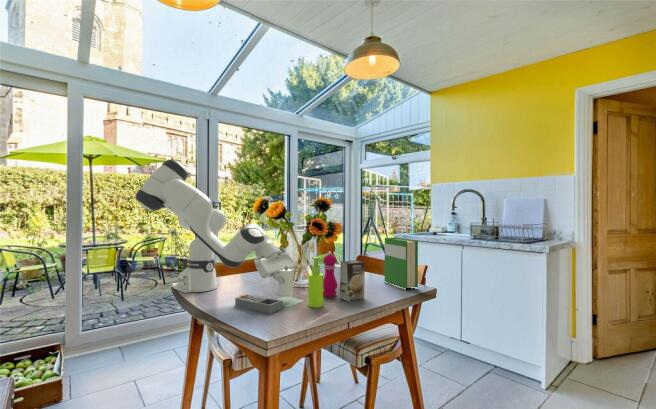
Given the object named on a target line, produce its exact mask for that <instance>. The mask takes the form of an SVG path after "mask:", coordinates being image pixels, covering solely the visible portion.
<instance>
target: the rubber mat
mask: <svg viewBox="0 0 656 409" xmlns="http://www.w3.org/2000/svg"><path fill="white" fill-rule="evenodd" d="M275 300H280V301H283V307H286V308H289V307H290V308H291V307H293V306H295V305H297V304H301V303H302V302H304V301H306V299H300V298H295V297H291V296H282V297H281V296H280V297H279V298H277V299H275Z"/></svg>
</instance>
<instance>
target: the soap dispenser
mask: <svg viewBox="0 0 656 409" xmlns="http://www.w3.org/2000/svg"><path fill="white" fill-rule="evenodd" d="M324 258H325V257H324V256H319V255H318V256H313V257H312V258H311V259H312V260H313V265H311V273H309V274H308V287H307V288H308V293H307V294H308V296H307V297H308V301H307V302H308V304H307V305H308V307H310V308H321V307H323V306H324V296H323V291H324V290H323V279H324V274H323V273H321V265H320V264H319V259H322V260H323V259H324Z"/></svg>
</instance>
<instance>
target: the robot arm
mask: <svg viewBox="0 0 656 409" xmlns="http://www.w3.org/2000/svg"><path fill="white" fill-rule="evenodd" d="M188 177H189V173H188V170H187V169H186V167H185V165H183V164H182V163H181V162H179V161H177V160H174V159H167V160H165V161H163V163H161V165H160V166H159V167H158V168H157V169H155V170H154V172H152V173H151V174H150V176H149V177H148V179H146V180H145V182H144V183H143V184H142V186H141V187H140V189H138V190H137V191H136V194H135V195H134V197H135V200H136V201H137V203H138V205H139V206H141V207H142V208H144V209H145V210H147V211H153V212H156V211H157V212H158V211H159V210H162V209H166V208H167V210H169V211H171V212H172V213H173V214H174V215H175V216H176V217H177V218H178V220H177V221H178V224H179V226H180V227H181V228H183V229H185V230H189V231H191V232H192V233H193V234H194V235H195V238H194V239H193V240H191V242H190V243H189V259H188V260H187V261H186V264H187V265H186V268H185V269H184V270H183V271H182V272H181V273H179V275H178V276H177V283H176V284H173V286H172V285H171V288H172V287H173V288H172V289H175V290H177V291H179V292H182V293H188V294H189V293H199V292H200V293H202V292H210V291H213V290H216V289H217V288H218V285H219V283H218V282H217V272H216V268H215V265H216V259H215V256H217V257H218V259H219V260H220V262H222V264H223V265H224V266H226V267H227V268H232V269H233V268H239V267H241V266H242V265H243V264H244V262H245V261H246V259H247V258H248V257H249V256H250V255H251V254H252V253H253V252H254V254H255V256H256V257H255V258H254V259H253V263H254V265H255V268H256V271H257V272H258V274H259V275H260V277H261V278H262V279H269V278H273V279H274V280H275V281H277V282H278V284H279V283H280V284H282V283H283V282H284V279H283V278H281V277H280V276H279V270H283V269H285V266H288V269H295V268H296V263H295V261H294V259H293V258H292V257H291V256H290V254H288V253H287V252H288V251H287V249H286V248H284V247H280V246H277V245H275V244H274V242H272V241H271V240H270V238H269V236H268V235H267V232H265V231H264V230H263V228H262V227H260V226H259V225H258V224H257V223H254V222H252V223H247V224H246V225H245V226H243V227H242V228H241V229H239V231H237V233H236V234H235V235H234V236H233V237H232V238H231V239H230V241H229V242H228V243H226V244H225V243H224V242H223V241H222V240H221V239H220V238H218V235H219V233H220V231H221V230H223V229H224V228H225V226H226V224H227V216H226V213H225V212H224V211H223V210H220V209H217V208H213V207H214V206H213V202H212V200H211V199H210V198H209V197H208V195H206V194H205V193H203V192H202V191H200V190H199V189H198V188H197V187H195V186H193V185H191V184H190V183H188V182H186V180H187V178H188Z"/></svg>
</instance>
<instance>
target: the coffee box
mask: <svg viewBox="0 0 656 409" xmlns="http://www.w3.org/2000/svg"><path fill="white" fill-rule="evenodd" d="M339 263H340V267H339V270H340V271H339V299H341V300H343V299H344V301H346V302H351V300H353V301H357V300H356V299H359V300H362V299H361V298H364V299H365V274H366V273H365V272H366V270H365V266H366V262H365V261H361V260H347V261H346V260H344V261H340V262H339Z"/></svg>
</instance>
